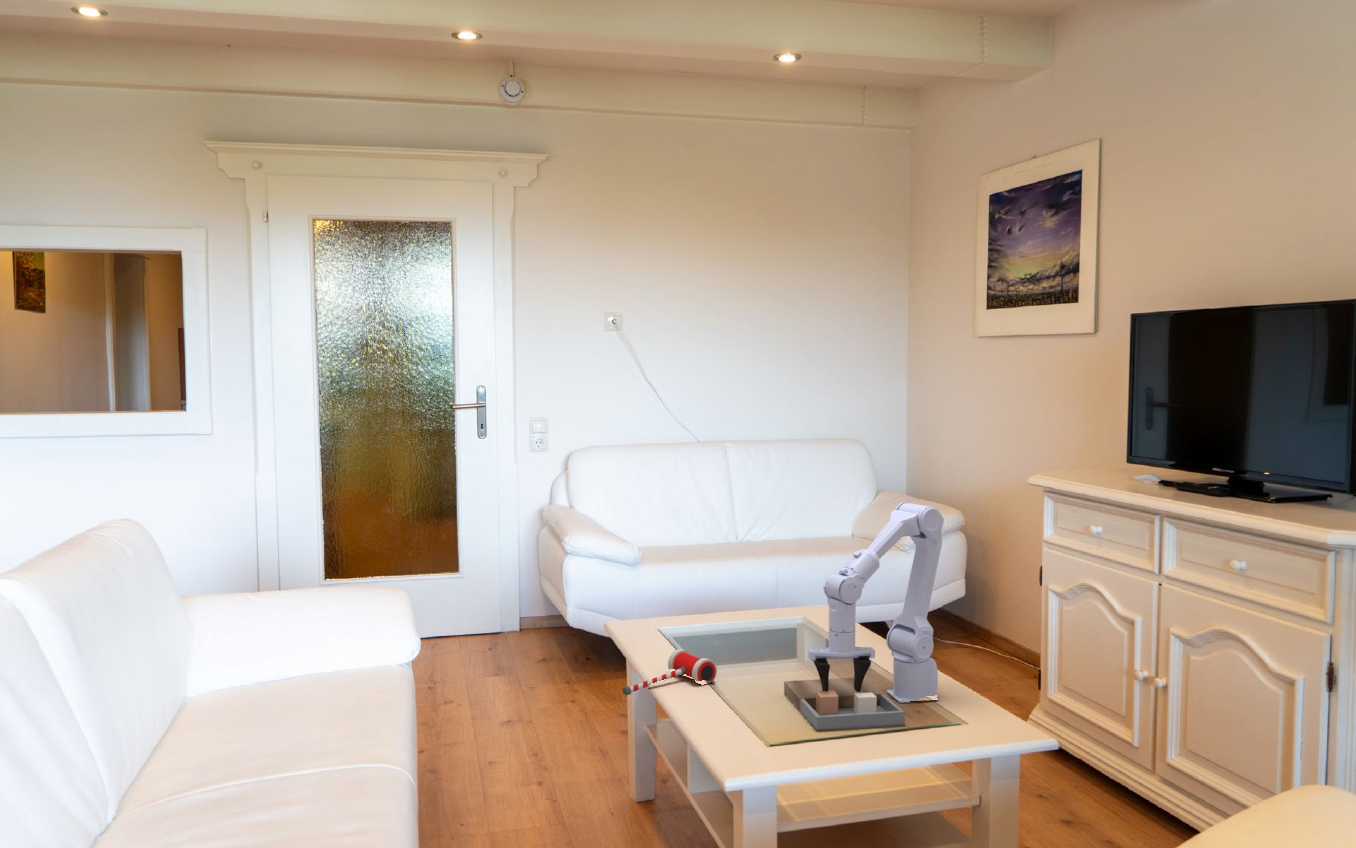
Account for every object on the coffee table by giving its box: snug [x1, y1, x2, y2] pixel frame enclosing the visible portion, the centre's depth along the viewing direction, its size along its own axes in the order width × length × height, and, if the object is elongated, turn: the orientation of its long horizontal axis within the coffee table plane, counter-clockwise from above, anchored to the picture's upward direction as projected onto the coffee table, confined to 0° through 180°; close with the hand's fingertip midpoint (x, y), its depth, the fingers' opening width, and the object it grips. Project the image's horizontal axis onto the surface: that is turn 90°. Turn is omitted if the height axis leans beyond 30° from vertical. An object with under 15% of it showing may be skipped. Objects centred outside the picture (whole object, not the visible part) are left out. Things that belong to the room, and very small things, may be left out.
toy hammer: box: [622, 648, 718, 696], centre depth 229 cm, size 23×12×6 cm, turn 127°
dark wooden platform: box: [783, 676, 884, 713], centre depth 218 cm, size 19×12×3 cm, turn 100°
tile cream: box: [854, 692, 877, 714], centre depth 208 cm, size 4×4×3 cm
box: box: [799, 693, 906, 733], centre depth 205 cm, size 19×12×3 cm, turn 100°
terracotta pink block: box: [816, 690, 838, 715], centre depth 208 cm, size 4×4×3 cm
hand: (841, 691), depth 211 cm, fingers open, 7 cm apart
